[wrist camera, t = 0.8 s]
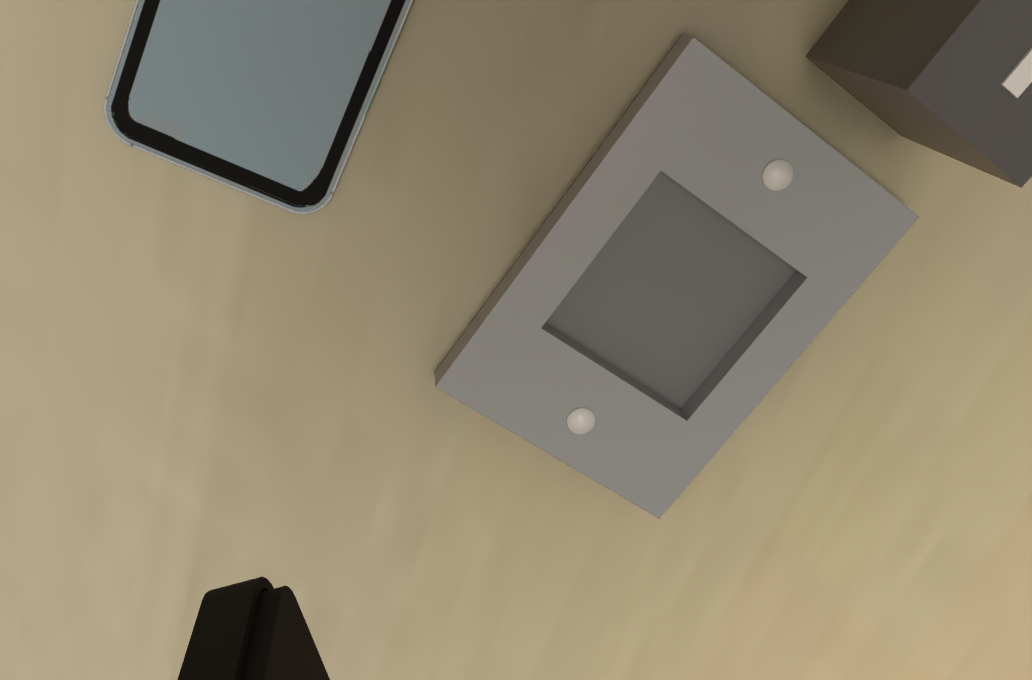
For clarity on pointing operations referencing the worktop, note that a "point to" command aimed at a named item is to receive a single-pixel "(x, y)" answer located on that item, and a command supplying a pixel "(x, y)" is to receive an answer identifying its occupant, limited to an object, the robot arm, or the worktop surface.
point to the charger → (941, 75)
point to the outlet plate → (673, 282)
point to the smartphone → (253, 89)
